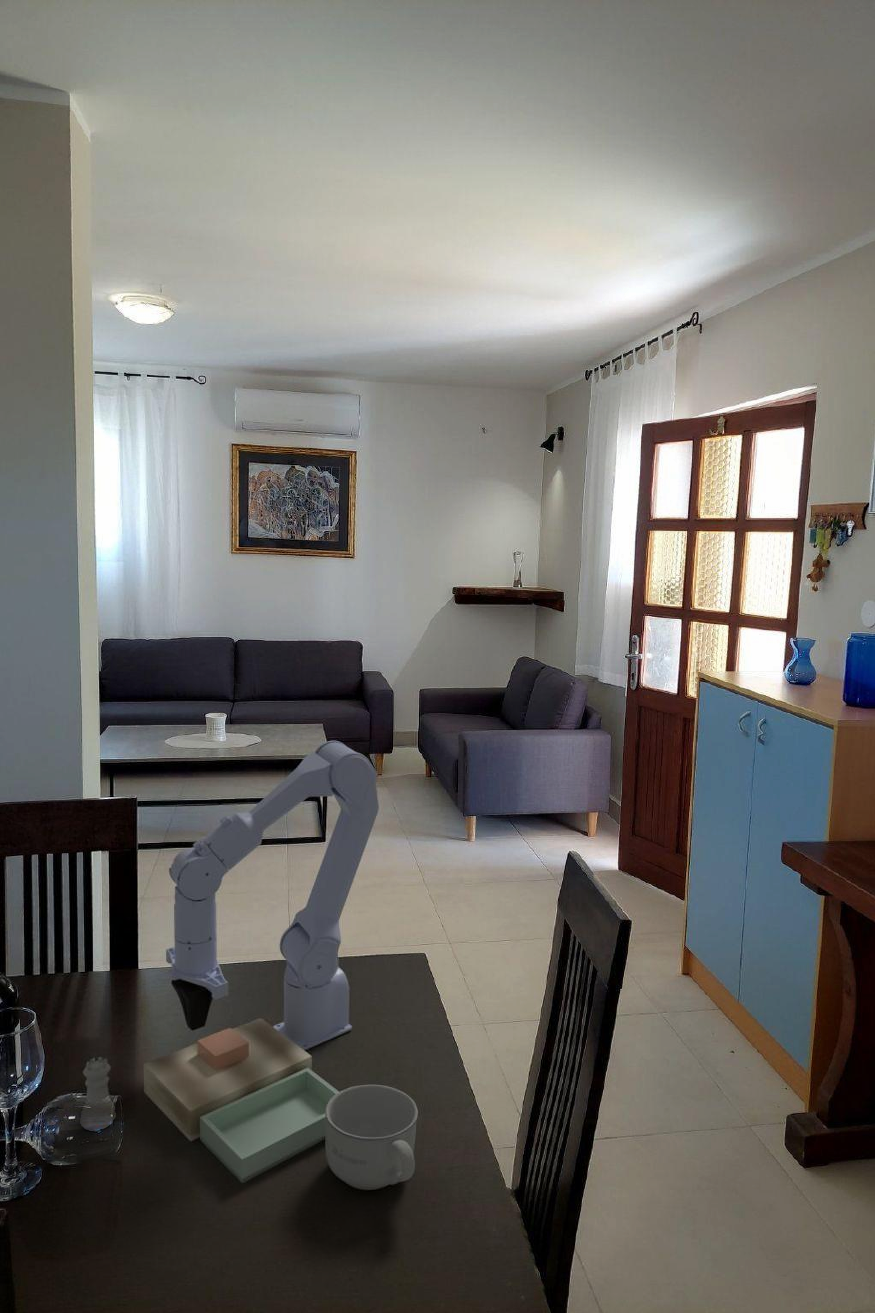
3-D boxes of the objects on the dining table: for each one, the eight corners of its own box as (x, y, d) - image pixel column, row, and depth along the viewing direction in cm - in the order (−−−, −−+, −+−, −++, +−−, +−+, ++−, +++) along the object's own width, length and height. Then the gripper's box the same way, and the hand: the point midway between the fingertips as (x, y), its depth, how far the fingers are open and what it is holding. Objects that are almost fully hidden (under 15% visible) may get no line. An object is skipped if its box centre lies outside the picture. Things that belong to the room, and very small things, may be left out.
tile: (230, 1041, 124) (230, 1027, 123) (248, 1056, 120) (248, 1042, 120) (197, 1054, 120) (197, 1040, 120) (215, 1070, 117) (215, 1056, 116)
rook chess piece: (104, 1136, 109) (102, 1075, 108) (71, 1130, 110) (69, 1070, 109) (123, 1113, 114) (122, 1055, 113) (92, 1108, 114) (91, 1050, 113)
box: (307, 1088, 120) (307, 1067, 119) (352, 1124, 113) (353, 1102, 112) (199, 1139, 109) (199, 1117, 109) (242, 1183, 102) (242, 1159, 101)
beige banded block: (260, 1043, 130) (260, 1017, 130) (311, 1083, 121) (311, 1056, 120) (144, 1092, 118) (143, 1064, 118) (190, 1141, 109) (190, 1111, 108)
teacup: (314, 1153, 107) (314, 1091, 106) (397, 1132, 111) (398, 1072, 110) (348, 1236, 94) (349, 1167, 93) (441, 1208, 99) (443, 1142, 98)
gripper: (145, 926, 126) (147, 1015, 128) (194, 962, 116) (195, 1059, 117) (191, 913, 131) (191, 999, 133) (241, 946, 120) (241, 1040, 122)
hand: (196, 1026), depth 125 cm, fingers closed
